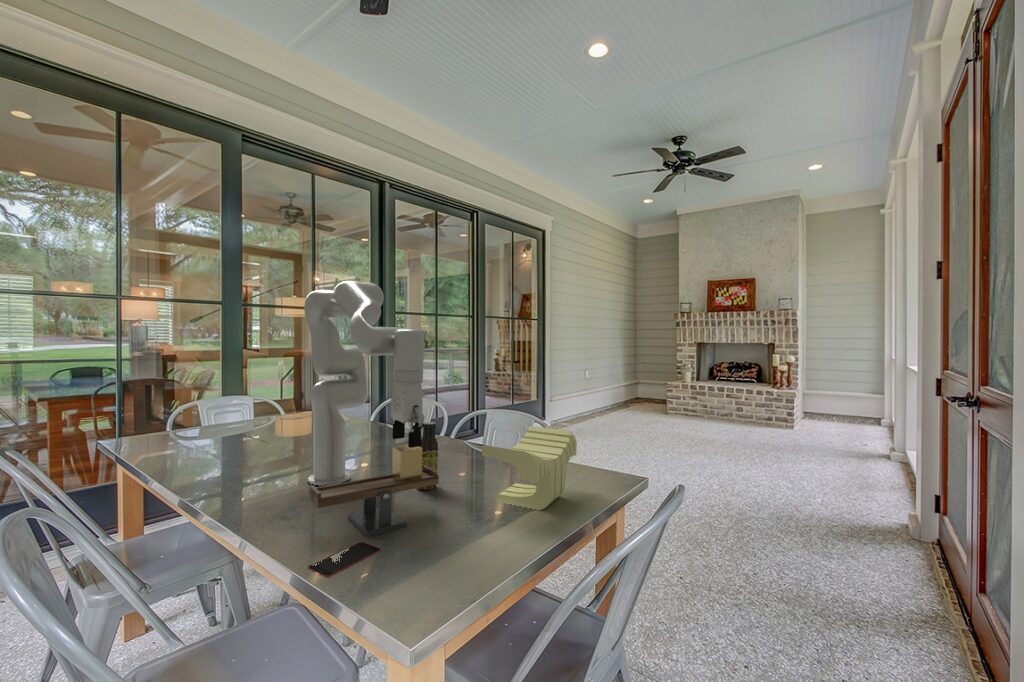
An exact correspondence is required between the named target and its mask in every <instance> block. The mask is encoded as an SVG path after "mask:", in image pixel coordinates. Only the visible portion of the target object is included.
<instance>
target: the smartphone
mask: <svg viewBox="0 0 1024 682" xmlns="http://www.w3.org/2000/svg"><path fill="white" fill-rule="evenodd" d="M349 547H350V548H349ZM349 547H348V548H349V550H348V551H346V552H345V551H344V552H345V553H344V552H343V554H342V553H341V555H340V556H342V558H341V557H340V562H339V560H338V561H336V562H335V563H334V561H333V562H332V558H330V557H331V556H332V555H333V554H332V555H329V556H327V557H325V558H322V559H321V560H322V562H321V560H318V561H316V562H315V563H312V564H310V565H308V566H307V570H309V569H310V570H312V571H311V572H313V571H314V572H313V573H315V572H317V573H319V574H320V575H319V574H318V575H319V576H321V575H323V576H325V577H324V578H330V576H331V577H333V576H335V575H337V574H339V573H340V571H341V572H343V571H345V570H347V569H349V568H351V567H353V566H354V565H356V564H358V563H360V562H362V561H364V560H366V559H368V558H370V557H372V556H374V555H376V554H379V553H380V552H381V551H382V548H380V547H378V546H376V545H372V544H370V543H367V542H364V541H361V542H357V543H356V544H353V545H351V546H349ZM367 557H368V558H367ZM326 558H327V559H326ZM338 559H339V558H338ZM336 560H337V559H336ZM319 561H320V562H319ZM316 563H317V565H316V566H315V565H313V564H316ZM318 563H319V564H318ZM336 563H337V564H336ZM312 565H313V566H312ZM344 569H345V570H344ZM310 570H309V571H310ZM338 572H339V573H338ZM317 573H316V574H317ZM336 573H337V574H336ZM334 574H335V575H334ZM332 575H333V576H332ZM323 576H322V577H323Z"/></svg>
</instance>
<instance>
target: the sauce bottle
mask: <svg viewBox="0 0 1024 682" xmlns="http://www.w3.org/2000/svg"><path fill="white" fill-rule="evenodd" d="M436 428H437V423H436V422H433V421H424V422H423V427H422V434H421V446H419V447H421V448H422V469H423V466H427V467H429V468H431V469H433V470H435V471H437V472H438V465H439V463H438V460H439V443H438V441H437V439H436ZM436 486H437V484H436V485H431V486H426V487H421V488H417V489H418V490H420V491H421V490H422V491H430V490H434V489H435V488H436Z"/></svg>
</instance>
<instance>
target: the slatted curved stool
mask: <svg viewBox="0 0 1024 682" xmlns="http://www.w3.org/2000/svg"><path fill="white" fill-rule="evenodd" d="M577 446H578V445H577V439H576V436H575V435H574V433H573V432H571V431H570V430H566V429H560V428H550V427H542V426H534V425H529V426H528V428H527V431H526V432H525V433H524V435H523V437H521V439H520V440H519V441H518V442H517V443H516V444H515V445H514V446H513V447H512V448H504V447H497V446H492V445H491V446H489V445H483V444H482V446H481V456H482V457H486V458H492V459H494V460H495V459H496V460H499V461H502V462H505V463H508V464H510V465H511V466H513V467H514V468H515V469H516V470H517V472H518V475H519V477H520V480H521V482H522V481H523V482H527V483H534V484H535V485H531V484H524V483H523V484H522V483H518V482H515V483H514V484H512V485H511V486H509V487H507V488H506V489H504V490H502V491H501V492H500V493H498V494H497V497H496V498H497V499H496V502H497V501H498V502H497V503H500V502H502V503H501V504H505V503H506V504H505V505H509V504H512V505H511V506H514V505H516V506H515V507H519V506H522V507H521V508H524V507H527V508H526V509H529V508H532V509H531V510H534V509H537V510H536V511H542V510H544V509H546V508H547V507H548V506H549V505H550V504H551V503H553V502H554V501H555V500H556V499H557V498H559V497H560V496H561V495H562V494H563V493H564V491H565V488H566V477H567V476H566V475H567V465H568V464H569V462H570V460H571V458H572V457H574V456H575V457H576V456H577Z"/></svg>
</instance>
